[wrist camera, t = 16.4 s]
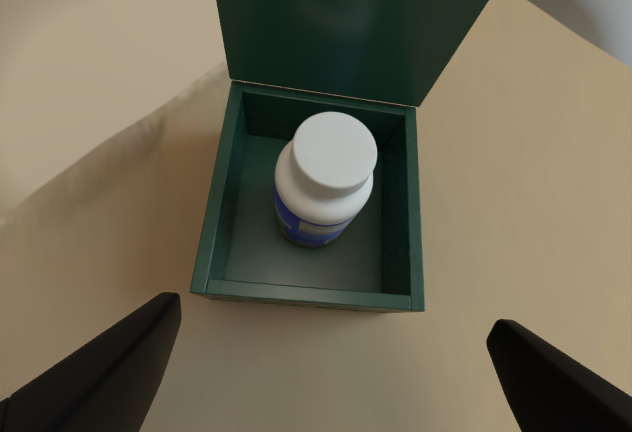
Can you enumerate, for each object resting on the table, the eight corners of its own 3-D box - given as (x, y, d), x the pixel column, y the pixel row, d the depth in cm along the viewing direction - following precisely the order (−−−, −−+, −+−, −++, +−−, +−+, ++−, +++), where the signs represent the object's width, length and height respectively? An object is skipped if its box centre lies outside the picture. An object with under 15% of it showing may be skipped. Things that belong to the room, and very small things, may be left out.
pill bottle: (272, 182, 23) (271, 95, 14) (340, 180, 24) (381, 97, 15) (276, 252, 22) (277, 204, 13) (349, 247, 23) (401, 199, 13)
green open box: (388, 313, 22) (425, 311, 17) (211, 299, 21) (189, 292, 15) (386, 150, 27) (416, 107, 21) (240, 130, 25) (231, 79, 20)
